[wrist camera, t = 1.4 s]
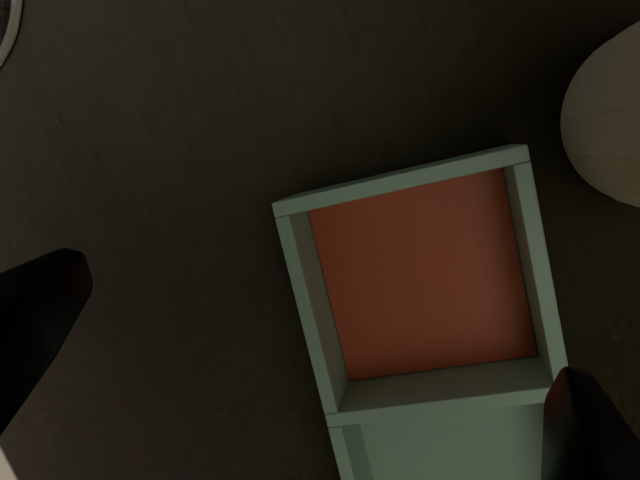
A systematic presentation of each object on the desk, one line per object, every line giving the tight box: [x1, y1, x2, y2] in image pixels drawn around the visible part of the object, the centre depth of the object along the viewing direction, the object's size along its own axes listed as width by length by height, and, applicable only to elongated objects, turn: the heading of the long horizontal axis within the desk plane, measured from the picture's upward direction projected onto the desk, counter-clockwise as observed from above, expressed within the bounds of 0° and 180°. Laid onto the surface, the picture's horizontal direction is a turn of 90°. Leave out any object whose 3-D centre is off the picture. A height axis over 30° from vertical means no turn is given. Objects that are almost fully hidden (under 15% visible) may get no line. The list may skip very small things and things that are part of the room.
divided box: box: [272, 144, 568, 480], centre depth 22 cm, size 18×10×4 cm, turn 15°
